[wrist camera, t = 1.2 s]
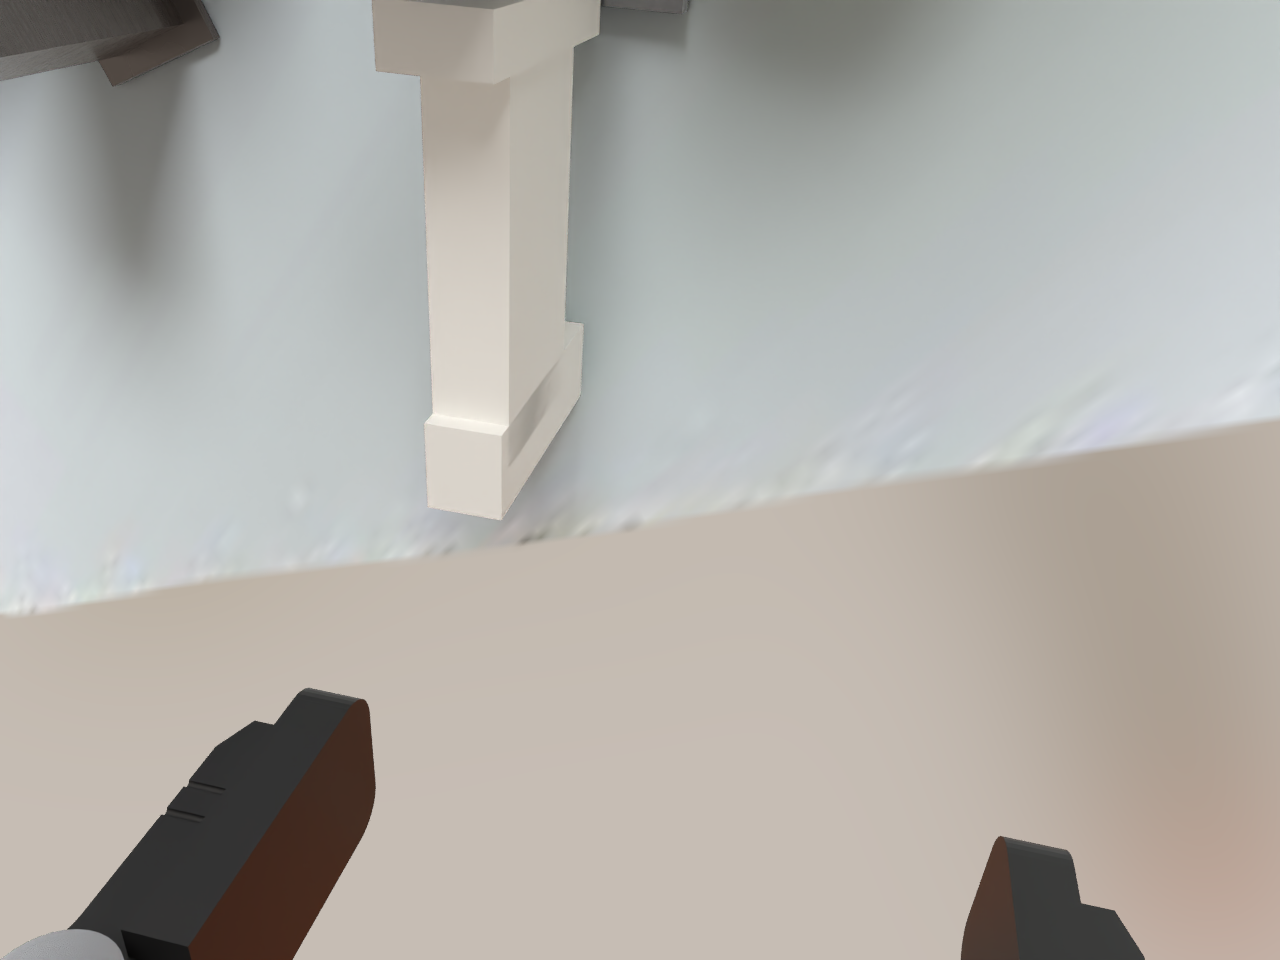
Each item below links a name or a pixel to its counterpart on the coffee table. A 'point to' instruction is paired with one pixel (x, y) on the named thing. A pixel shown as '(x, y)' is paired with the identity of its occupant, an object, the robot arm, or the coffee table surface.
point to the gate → (493, 231)
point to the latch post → (99, 35)
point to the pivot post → (650, 5)
